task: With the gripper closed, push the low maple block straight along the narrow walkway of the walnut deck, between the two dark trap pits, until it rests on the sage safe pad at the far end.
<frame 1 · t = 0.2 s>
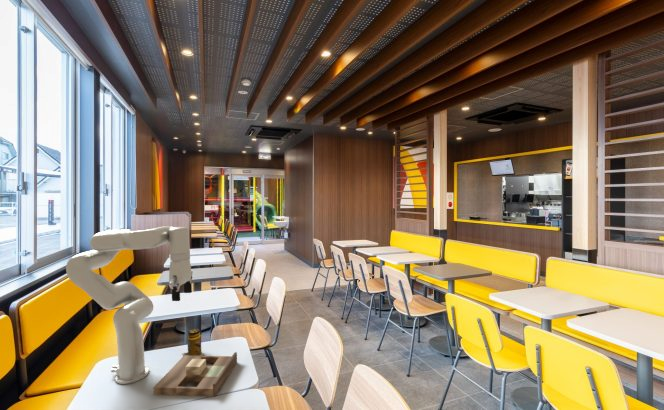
hand: (182, 296, 139), 35 cm above the table, tool pointing down, fingers open, 9 cm apart
condiment: (192, 355, 160), on the table
maple block: (196, 370, 141), point 3 cm above the table, touching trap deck
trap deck: (198, 377, 141), on the table
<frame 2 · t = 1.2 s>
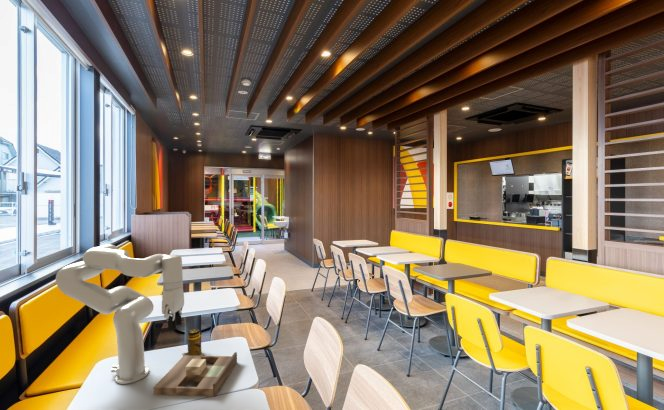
hand: (174, 326, 140), 22 cm above the table, tool pointing down, fingers open, 3 cm apart
nothing on the table moved.
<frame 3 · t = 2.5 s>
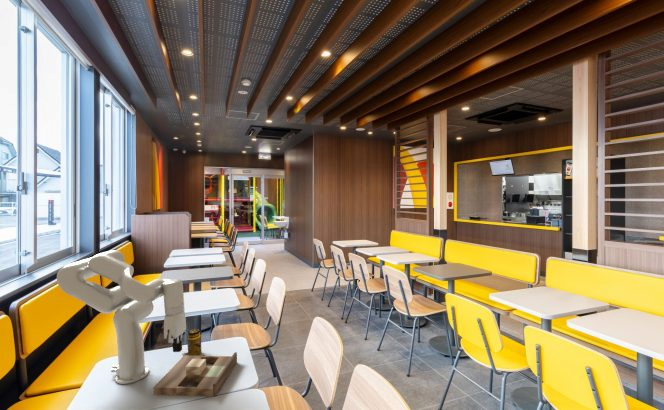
hand: (177, 350, 141), 12 cm above the table, tool pointing down, fingers closed
nothing on the table moved.
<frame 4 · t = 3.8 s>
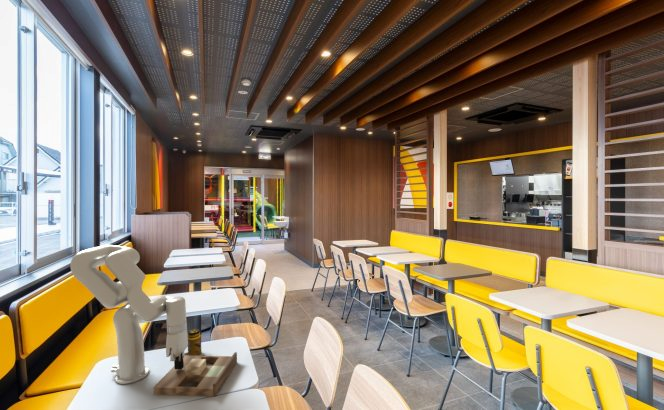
hand: (179, 368, 141), 4 cm above the table, tool pointing down, fingers closed
nothing on the table moved.
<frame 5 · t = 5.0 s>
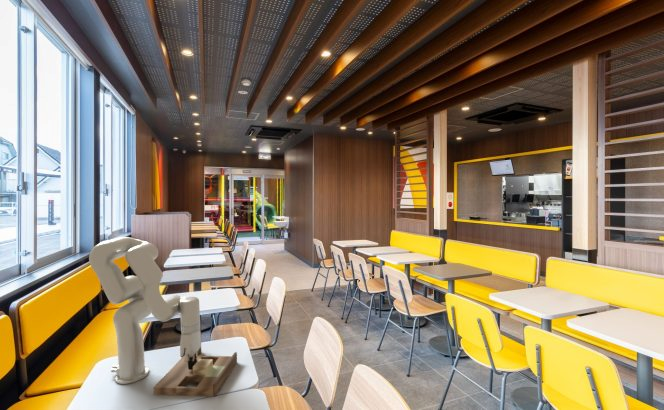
hand: (192, 368, 141), 4 cm above the table, tool pointing down, fingers closed
maple block: (203, 370, 141), point 3 cm above the table, touching gripper
everything else where it was.
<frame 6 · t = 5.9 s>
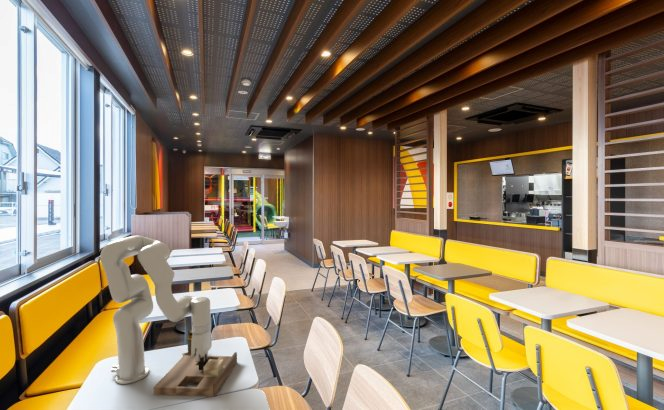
hand: (203, 369, 141), 4 cm above the table, tool pointing down, fingers closed
maple block: (213, 371, 140), point 3 cm above the table, touching gripper, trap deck
everything else where it was.
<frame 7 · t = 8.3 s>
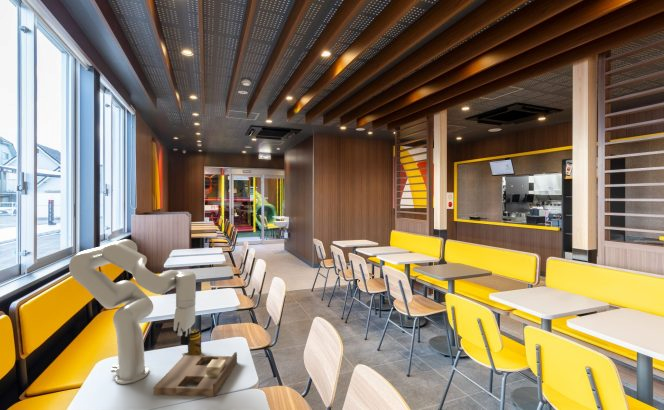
hand: (185, 343, 140), 15 cm above the table, tool pointing down, fingers closed
maple block: (216, 371, 140), point 3 cm above the table, touching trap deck
everything else where it was.
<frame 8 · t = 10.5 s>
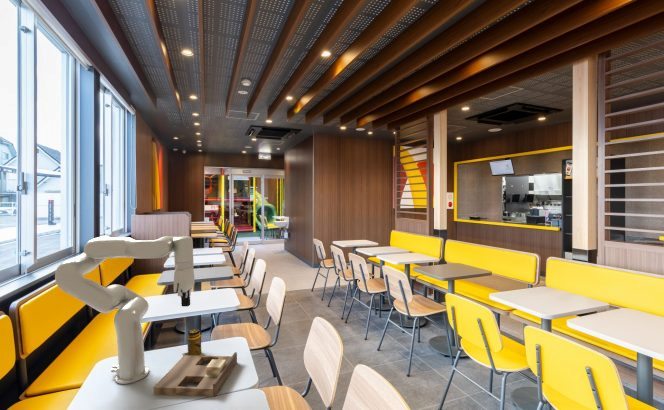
hand: (185, 305, 145), 29 cm above the table, tool pointing down, fingers closed
nothing on the table moved.
at the end: maple block inside the target area on the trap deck (0.0 cm from its centre), point 3.0 cm above the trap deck's base; maple block tilted 0°; the gripper is holding nothing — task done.
